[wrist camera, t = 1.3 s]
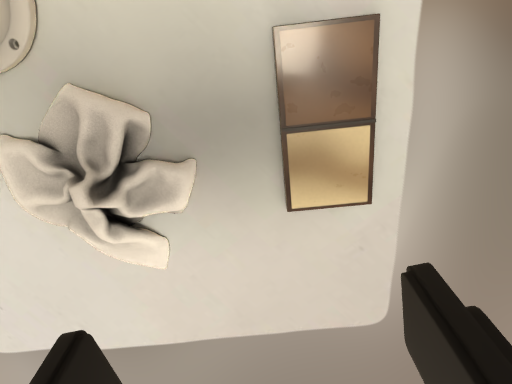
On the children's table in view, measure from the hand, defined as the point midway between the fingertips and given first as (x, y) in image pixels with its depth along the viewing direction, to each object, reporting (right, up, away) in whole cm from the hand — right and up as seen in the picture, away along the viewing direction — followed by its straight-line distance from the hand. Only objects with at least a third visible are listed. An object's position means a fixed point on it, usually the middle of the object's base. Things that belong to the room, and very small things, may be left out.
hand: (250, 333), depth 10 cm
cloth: (-15, +5, +26) cm, 31 cm away
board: (+7, +11, +23) cm, 26 cm away
